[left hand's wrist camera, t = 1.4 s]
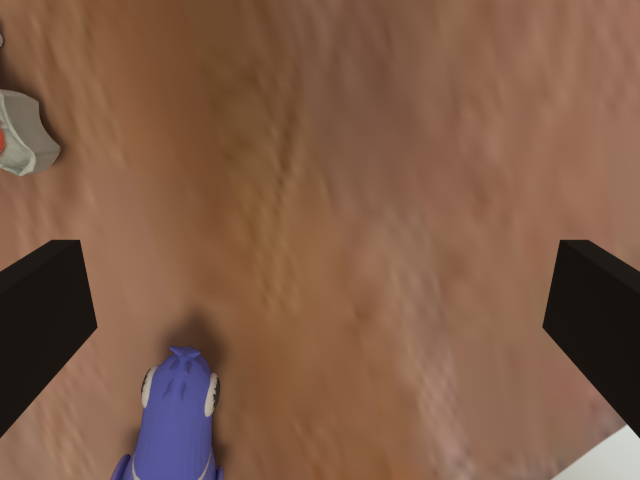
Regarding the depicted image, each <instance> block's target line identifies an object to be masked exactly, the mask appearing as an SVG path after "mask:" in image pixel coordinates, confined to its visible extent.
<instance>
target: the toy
mask: <svg viewBox="0 0 640 480" xmlns="http://www.w3.org/2000/svg"><path fill="white" fill-rule="evenodd" d="M169 349H170V350H171V351H173V352H174V353H173V354H172V355H170V356H169V357H168V358H167V359H166V360H165V361H164V362H163V363H162V364H161V365H159V364H156V365H154V366H152V367H151V368H150V369H149V371H148V372H147V374H146V376H145V378H144V381H143V384H142V389H141V400H142V404H143V407H144V409H143V417H142V424H141V429H140V433H139V437H138V441H137V446H136V450H135V451H134V453H133V455H132V457H131V456H130V455H129V454H126V455H124V456H123V457H122V458H121V459H120V461H119V463H118V464H117V466H116V468H115V470H114V472H113V474H112V477H111V479H110V480H224V471H223V467H222V466H219V467H218V470H217V471H216V465H215V459H214V455H213V451H212V413H213V411H214V409H215V407H216V405H217V402H218V398H219V393H220V382H219V378H218V376H217V374H215V373H211V370H210V367H209V365H208V363H207V361H206V360H205V359H204V358H203V357H202V356H201V355H200V353H201V352H200V351H199V350H195V349H194V348H193V347H184V348H183V347H174V346H172V347H169Z"/></svg>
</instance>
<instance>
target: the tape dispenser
mask: <svg viewBox="0 0 640 480" xmlns="http://www.w3.org/2000/svg"><path fill="white" fill-rule="evenodd" d="M2 43H3V38H2V36H1V34H0V47H1V45H2ZM60 149H61V148H60V146H59V145H58V144H57V143H56V142H55V141H54V140H53V139H52V138H51V137H50V136H49V135H48V134H47V132H46V131H45V129H44V127H43V125H42V124H41V120H40V117H39V102H38V101H37V100H35V99H33V98H31V97H29V96H27V95H25V94H22V93H20V92H15V91H10V90H1V89H0V168H2V169H4V170H7V171H9V172H11V173H13V174H15V175H18V176H24V175H29V174H35V173H39V172H43V171H45V170H46V169H47V168H49V167H50V166H51V165H52V164H53V163H54V161H55V160H56V158H57V157H58V155H59V152H60Z"/></svg>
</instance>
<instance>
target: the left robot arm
mask: <svg viewBox="0 0 640 480" xmlns="http://www.w3.org/2000/svg"><path fill="white" fill-rule="evenodd" d="M96 329H97V322H96V317H95V312H94V307H93V302H92V297H91V292H90V287H89V283H88V278H87V273H86V268H85V263H84V258H83V253H82V248H81V243H80V240H51V241H49V242H48V243H46V244H44V245H43V246H41V247H39V248H38V249H36V250H35V251H33V252H31V253H30V254H28V255H27V256H25V257H23V258H22V259H20V260H18V261H17V262H15V263H14V264H12V265H10V266H9V267H7V268H6V269H4V270H2V271H1V272H0V438H1V437H2V436H3V435H4V433H5V432H6V431H7V430H8V429H9V428H10V427H11V426H12V424H13V423H14V422H15V421H16V420H17V419H18V418H19V416H20V415H21V414H22V413H23V412H24V411H25V410H26V408H27V407H28V406H29V405H30V404H31V403H32V402H33V400H34V399H35V398H36V397H37V396H38V395H39V394H40V392H41V391H42V390H43V389H44V388H45V387H46V386H47V384H48V383H49V382H50V381H51V380H52V379H53V378H54V376H55V375H56V374H57V373H58V372H59V371H60V370H61V369H62V367H63V366H64V365H65V364H66V363H67V362H68V361H69V359H70V358H71V357H72V356H73V355H74V354H75V353H76V351H77V350H78V349H79V348H80V347H81V346H82V345H83V343H84V342H85V341H86V340H87V339H88V338H89V337H90V335H91V334H92V333H93V332H94V331H95V330H96ZM543 329H544V330H545V331H546V332H547V333H548V334H549V335H550V337H551V338H552V339H553V340H554V341H555V342H556V343H557V345H558V346H559V347H560V348H561V349H562V350H563V351H564V353H565V354H566V355H567V356H568V357H569V358H570V359H571V361H572V362H573V363H574V364H575V365H576V366H577V367H578V369H579V370H580V371H581V372H582V373H583V374H584V375H585V376H586V378H587V379H588V380H589V381H590V382H591V383H592V384H593V386H594V387H595V388H596V389H597V390H598V391H599V392H600V394H601V395H602V396H603V397H604V398H605V399H606V400H607V402H608V403H609V404H610V405H611V406H612V407H613V408H614V410H615V411H616V412H617V413H618V414H619V415H620V416H621V418H622V419H623V420H624V421H625V422H626V423H627V424H628V426H629V427H630V428H631V429H632V430H633V431H634V432H635V433H636V435H637V436H638V437H639V438H640V272H639V271H638V270H636V269H634V268H633V267H631V266H630V265H628V264H626V263H625V262H623V261H622V260H620V259H618V258H617V257H615V256H613V255H612V254H610V253H609V252H607V251H605V250H604V249H602V248H601V247H599V246H597V245H596V244H594V243H592V242H591V241H589V240H560V243H559V248H558V253H557V258H556V263H555V268H554V273H553V278H552V283H551V287H550V292H549V297H548V302H547V307H546V312H545V317H544V322H543Z"/></svg>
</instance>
